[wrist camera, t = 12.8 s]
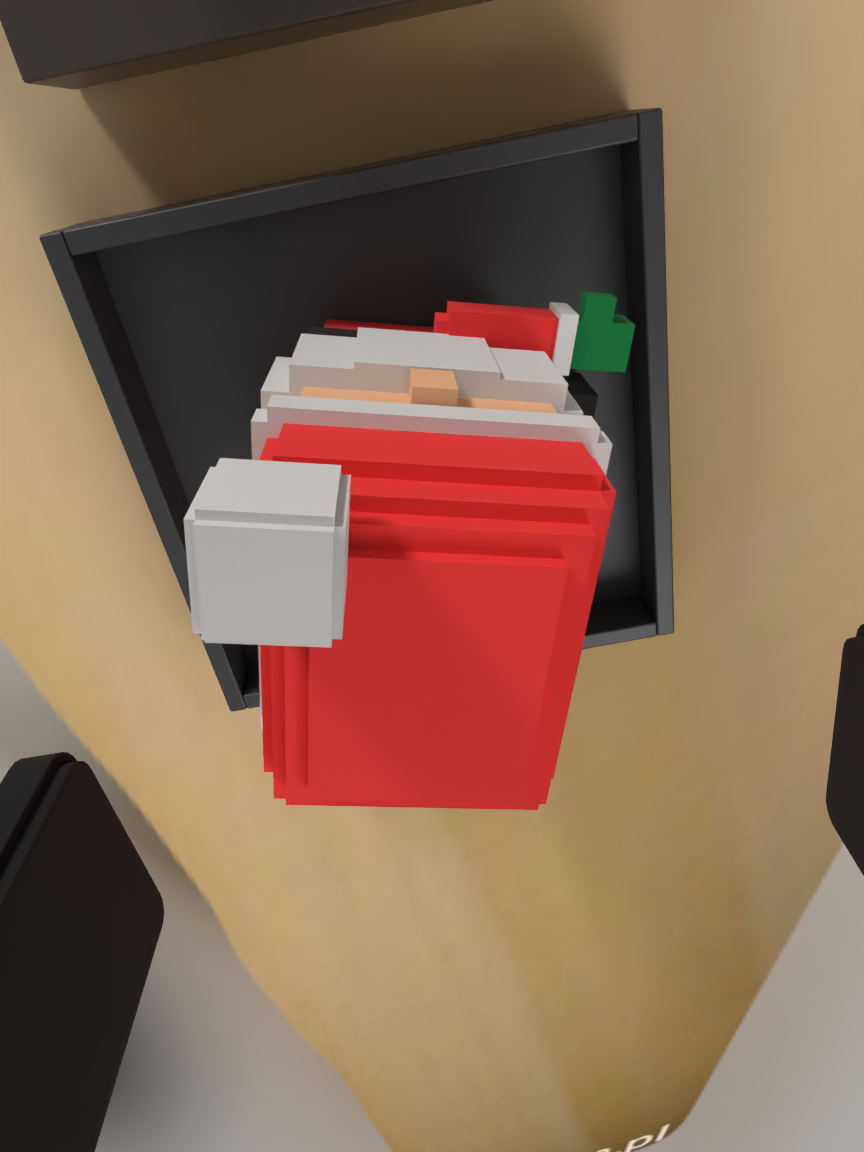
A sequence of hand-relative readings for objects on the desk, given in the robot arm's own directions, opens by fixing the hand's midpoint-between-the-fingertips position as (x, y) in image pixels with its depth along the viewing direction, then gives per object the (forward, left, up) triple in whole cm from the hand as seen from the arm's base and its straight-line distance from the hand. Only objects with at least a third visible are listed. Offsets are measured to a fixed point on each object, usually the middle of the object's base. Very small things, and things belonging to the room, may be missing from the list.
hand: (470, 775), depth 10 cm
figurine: (0, 0, -12) cm, 12 cm away
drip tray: (+1, 0, -13) cm, 13 cm away
